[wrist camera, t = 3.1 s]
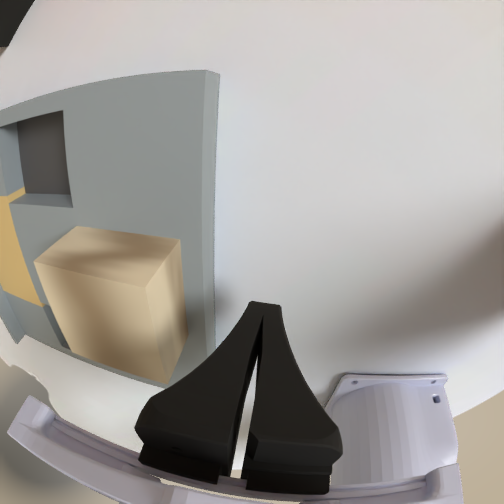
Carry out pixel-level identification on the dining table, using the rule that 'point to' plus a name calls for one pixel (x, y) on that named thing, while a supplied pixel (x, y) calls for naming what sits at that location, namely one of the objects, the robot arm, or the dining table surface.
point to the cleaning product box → (11, 18)
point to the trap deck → (111, 190)
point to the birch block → (118, 298)
